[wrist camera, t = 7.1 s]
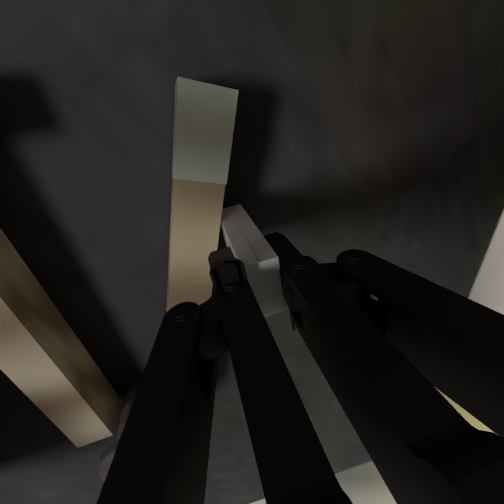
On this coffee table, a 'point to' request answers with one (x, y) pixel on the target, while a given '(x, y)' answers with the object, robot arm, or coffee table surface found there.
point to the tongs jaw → (198, 185)
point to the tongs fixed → (54, 361)
